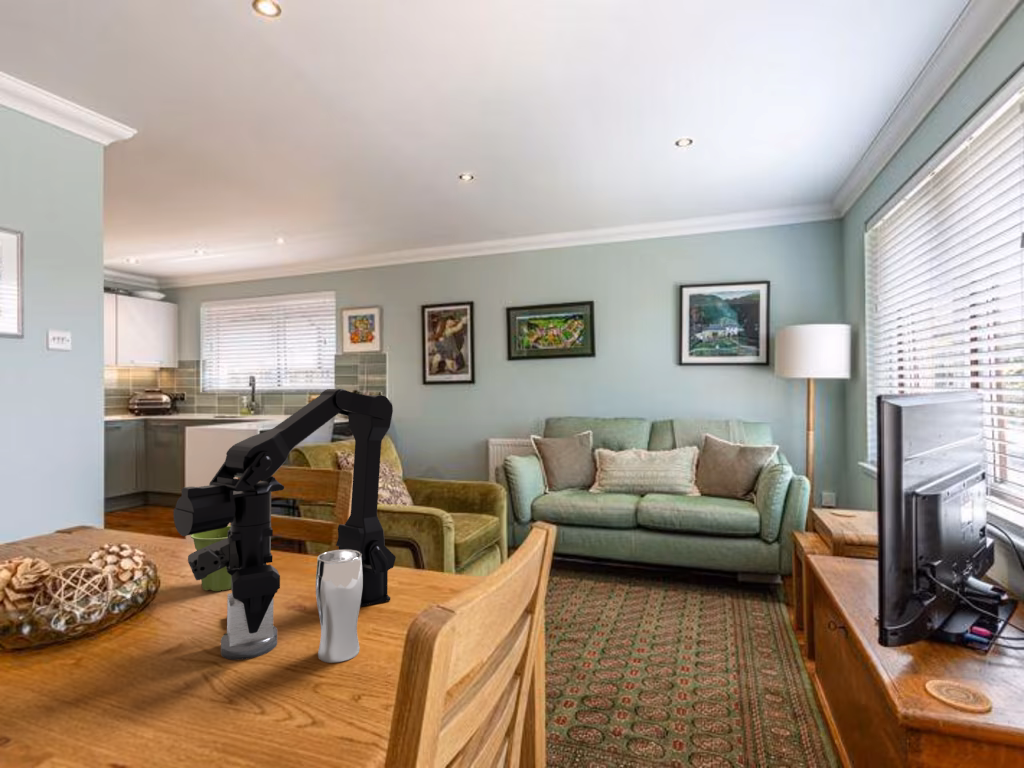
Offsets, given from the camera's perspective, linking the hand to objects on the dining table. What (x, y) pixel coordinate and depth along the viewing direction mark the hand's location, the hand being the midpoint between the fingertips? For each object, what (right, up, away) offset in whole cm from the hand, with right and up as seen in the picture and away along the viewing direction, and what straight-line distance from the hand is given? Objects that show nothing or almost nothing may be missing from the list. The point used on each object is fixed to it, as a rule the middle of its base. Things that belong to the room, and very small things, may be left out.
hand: (250, 621), depth 85 cm
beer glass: (+15, -4, -2) cm, 15 cm away
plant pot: (-19, -5, +27) cm, 33 cm away
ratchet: (-3, -4, +4) cm, 7 cm away
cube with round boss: (0, -2, 0) cm, 2 cm away
